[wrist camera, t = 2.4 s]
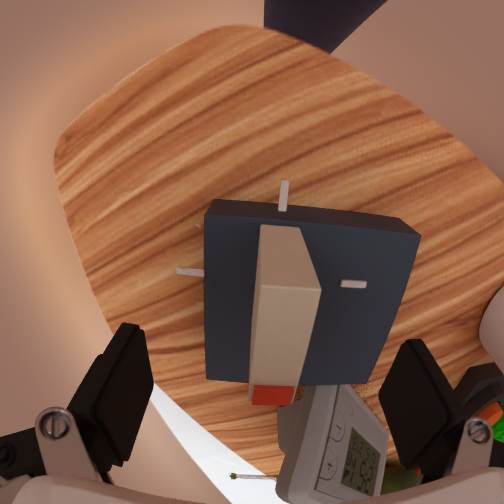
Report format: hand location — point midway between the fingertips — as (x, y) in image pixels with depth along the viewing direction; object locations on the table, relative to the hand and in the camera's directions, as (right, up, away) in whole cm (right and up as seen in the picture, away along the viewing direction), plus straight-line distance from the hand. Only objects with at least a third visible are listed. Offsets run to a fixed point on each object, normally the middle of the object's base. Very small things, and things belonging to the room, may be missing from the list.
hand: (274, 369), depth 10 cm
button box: (+25, -12, +14) cm, 31 cm away
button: (+25, -14, +11) cm, 30 cm away
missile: (+1, -26, +20) cm, 32 cm away
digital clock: (+7, -11, +14) cm, 19 cm away
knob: (0, +3, +5) cm, 6 cm away
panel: (+2, +2, +8) cm, 9 cm away
